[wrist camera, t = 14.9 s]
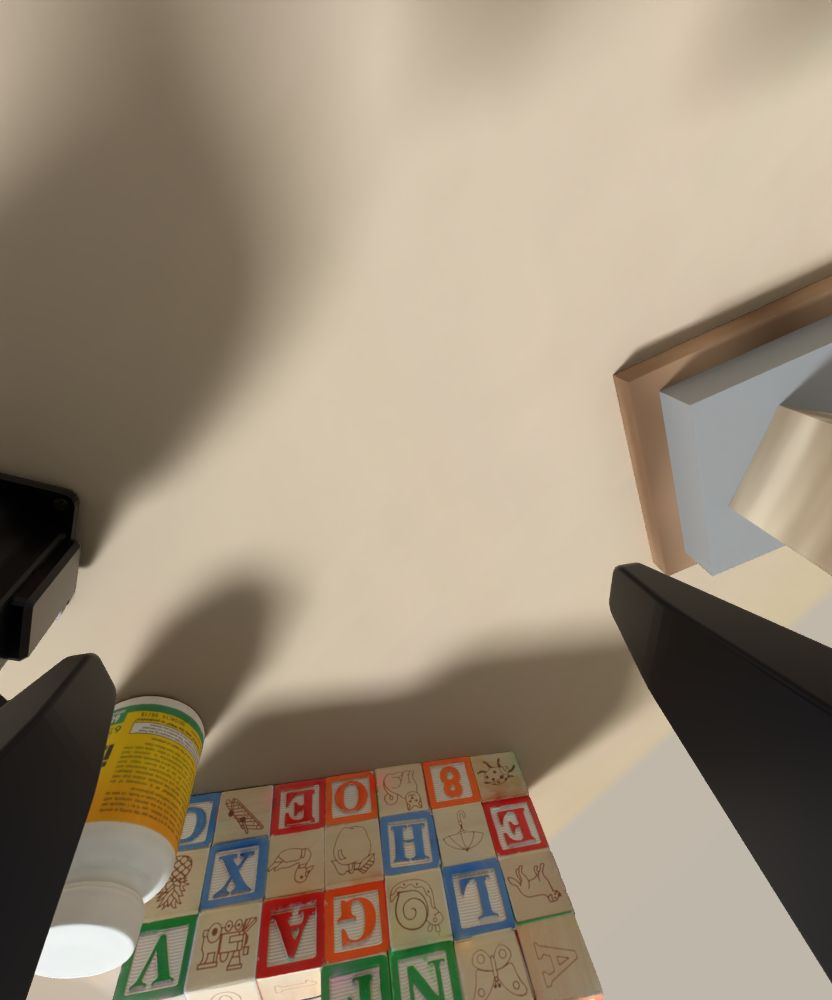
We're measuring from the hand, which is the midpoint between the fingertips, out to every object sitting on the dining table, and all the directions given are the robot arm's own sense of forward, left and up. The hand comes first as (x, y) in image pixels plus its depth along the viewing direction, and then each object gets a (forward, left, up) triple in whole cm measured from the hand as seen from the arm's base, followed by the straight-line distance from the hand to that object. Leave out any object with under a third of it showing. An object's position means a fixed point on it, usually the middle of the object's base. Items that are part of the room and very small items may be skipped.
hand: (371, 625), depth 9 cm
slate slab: (+18, +5, -12) cm, 22 cm away
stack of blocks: (+9, -25, -13) cm, 30 cm away
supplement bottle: (-4, -20, -13) cm, 24 cm away
